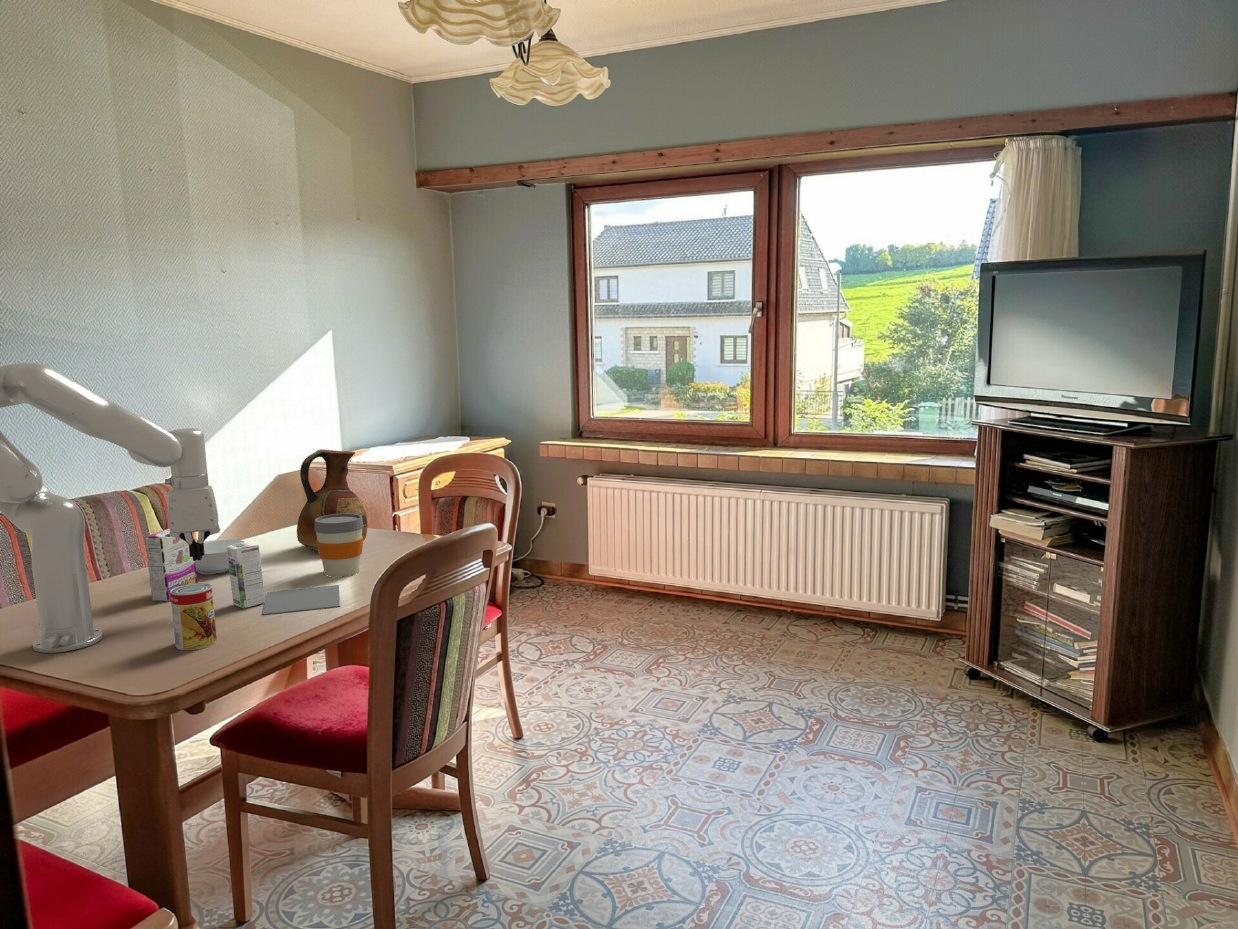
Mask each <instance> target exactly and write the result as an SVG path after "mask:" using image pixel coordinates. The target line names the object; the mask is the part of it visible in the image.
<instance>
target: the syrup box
mask: <svg viewBox="0 0 1238 929" xmlns="http://www.w3.org/2000/svg"><path fill="white" fill-rule="evenodd" d="M227 555H228V563H229V571H228V573H229V580H230V586H231V587H230V589H231V594H232V595H231V596H232V602H233V603H232V604H233V605H234V604H235V605H234V606H237V607H239V608H242V609H247V608H250V607H254V606H257V605H258V606H259V605H260V604H265V602H266V595H265V586H264V576H263V569H262V560H261V552H260V545H259V544H256V543H252V542H249V541H244V543H237V544H233V545H230V546H227Z"/></svg>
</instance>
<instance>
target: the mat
mask: <svg viewBox="0 0 1238 929" xmlns="http://www.w3.org/2000/svg"><path fill="white" fill-rule="evenodd" d="M265 601H266V602H264V606H263V610H262V616H269V615H276V614H278V615H279V614H285V613H288V614H289V613H296V612H306V611H312V610H313V611H315V610H322V609H321V608H325V609H333V608H340V607H341V604H340V585H339V584H336V585H333V584H332V585H326V586H325V585H324V586H316V587H305V588H295V589H293V588H292V589H285V590H284V589H283V590H275V591H267V593H266V596H265Z"/></svg>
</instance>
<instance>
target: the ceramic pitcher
mask: <svg viewBox="0 0 1238 929" xmlns="http://www.w3.org/2000/svg"><path fill="white" fill-rule="evenodd" d="M355 454H356V452H355V451H351V450H349V451H347V450H346V451H345V450H333V449H321V448H320V449H317V450H316V451H315V452H313V453H311V454H309V455H308V456H306V458H305V459H304V460H303V461H302V463H301V466H300V472H299V474H300V481H301V485H302V488H303V489H304V493H305V496H306V502H305V504H304V506H303V507H302V508H301V510H300V513H299V515H298V520H297V524H296V536H297V537H296V538H297V541H298V543H299V544H301V546H303V547H304V548H306V549H310V550H314V551H318V547H317V542H316V541H317V534H316V532H315V519H316V518H318V517H322V516H326V515H332V514H346V513H347V514H358V515H361V516H362V520H363V525H364V527H363V528H362V536H363V542H364V541H365V539H366V538H367V534H368V517H367V514H366V513H367V512H366V509H365V506H364V504H363V502H362V501H361V499H360V498H359V497H358V496H357V494H356V493H355V492H353V490H351V489H350V487H349V484H348V480H347V477H348V474H349V462H350V460H351V459H352V457H354V456H355ZM317 458H322V459H323V460H324V464H325V480H324V483H323V485H322V486H321V488H320V489H318V490H316V491H315V492H314V490H313V488H312V487H311V484H310V479H309V474H310V473H309V471H310V467H311V465H312V462H313V461H314V460H316V459H317Z"/></svg>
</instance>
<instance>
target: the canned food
mask: <svg viewBox="0 0 1238 929" xmlns="http://www.w3.org/2000/svg"><path fill="white" fill-rule="evenodd" d="M170 594H171V601H170V602H171V611H172V612H171V613H172V614H171V615H172V624H173V633H174V643H175V644H174V646H175V648H176V649H177V650H181V651H195V650H202V649H205V648H208V646H209V647H211V646H213V645H215V644H216V642H217V641H218V638H217V629H216V626H217V625H216V616H215V605H214V594H213V585H211V584H210V583H204V582H197V583H194V584H187V585H182V586H178V587H176V588H173V589H172V590H171V591H170ZM201 648H202V649H201Z"/></svg>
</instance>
